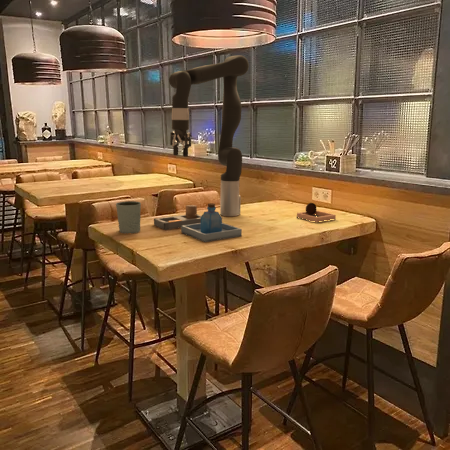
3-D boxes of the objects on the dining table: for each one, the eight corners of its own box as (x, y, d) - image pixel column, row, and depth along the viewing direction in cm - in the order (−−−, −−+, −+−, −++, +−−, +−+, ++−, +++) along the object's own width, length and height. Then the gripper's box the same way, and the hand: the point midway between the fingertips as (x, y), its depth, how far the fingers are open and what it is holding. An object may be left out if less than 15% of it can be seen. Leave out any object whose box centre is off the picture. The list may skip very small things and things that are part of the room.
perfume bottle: (212, 230, 195) (212, 202, 192) (221, 232, 191) (222, 204, 188) (200, 232, 191) (200, 203, 188) (210, 235, 187) (210, 206, 184)
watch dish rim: (315, 215, 233) (315, 210, 232) (335, 219, 222) (335, 214, 222) (296, 218, 225) (297, 213, 225) (316, 223, 215) (316, 217, 214)
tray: (216, 227, 203) (216, 220, 203) (241, 236, 189) (241, 228, 189) (181, 232, 193) (181, 225, 193) (204, 242, 179) (204, 234, 178)
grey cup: (141, 233, 191) (140, 205, 188) (116, 234, 189) (115, 205, 186) (141, 228, 200) (140, 200, 198) (117, 228, 199) (116, 201, 196)
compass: (314, 220, 221) (315, 205, 219) (304, 217, 228) (305, 202, 226) (327, 219, 224) (328, 204, 223) (317, 216, 231) (318, 201, 230)
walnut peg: (193, 221, 214) (193, 204, 212) (198, 223, 210) (198, 206, 209) (183, 222, 211) (183, 205, 210) (189, 224, 207) (189, 207, 206)
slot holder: (194, 219, 218) (194, 212, 217) (207, 223, 210) (207, 216, 209) (153, 225, 206) (153, 217, 205) (165, 229, 197) (165, 222, 197)
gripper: (196, 119, 200) (196, 156, 204) (179, 118, 212) (179, 154, 215) (181, 119, 196) (181, 157, 200) (164, 118, 207) (165, 155, 211)
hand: (180, 155), depth 208 cm, fingers open, 8 cm apart
